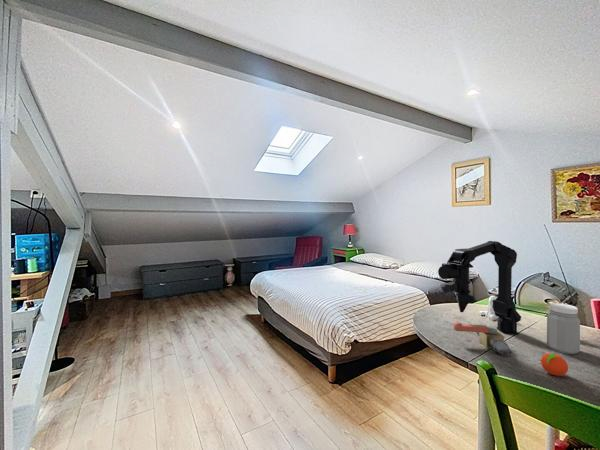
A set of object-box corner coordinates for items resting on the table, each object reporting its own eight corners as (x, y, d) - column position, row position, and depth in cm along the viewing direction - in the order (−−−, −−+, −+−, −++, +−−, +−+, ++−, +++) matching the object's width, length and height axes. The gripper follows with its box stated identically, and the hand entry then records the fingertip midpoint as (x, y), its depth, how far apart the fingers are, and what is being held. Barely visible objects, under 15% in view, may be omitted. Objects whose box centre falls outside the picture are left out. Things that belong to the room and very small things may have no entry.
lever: (493, 330, 116) (493, 323, 116) (498, 334, 112) (499, 327, 112) (452, 328, 119) (452, 321, 119) (456, 331, 115) (456, 324, 115)
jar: (541, 346, 113) (542, 304, 113) (554, 342, 117) (554, 301, 117) (572, 357, 104) (573, 311, 104) (584, 352, 108) (585, 307, 108)
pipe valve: (472, 334, 125) (472, 323, 125) (487, 335, 124) (487, 324, 124) (495, 356, 105) (495, 342, 105) (513, 358, 104) (513, 344, 104)
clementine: (559, 383, 88) (560, 361, 88) (534, 372, 95) (534, 352, 94) (572, 377, 91) (572, 356, 91) (547, 367, 98) (547, 347, 98)
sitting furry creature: (477, 314, 151) (477, 293, 151) (491, 313, 152) (491, 292, 152) (491, 320, 142) (491, 298, 141) (506, 320, 143) (506, 297, 142)
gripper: (438, 272, 133) (438, 304, 133) (444, 280, 115) (444, 317, 115) (464, 274, 129) (464, 306, 129) (475, 282, 111) (474, 320, 112)
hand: (461, 312), depth 121 cm, fingers closed
